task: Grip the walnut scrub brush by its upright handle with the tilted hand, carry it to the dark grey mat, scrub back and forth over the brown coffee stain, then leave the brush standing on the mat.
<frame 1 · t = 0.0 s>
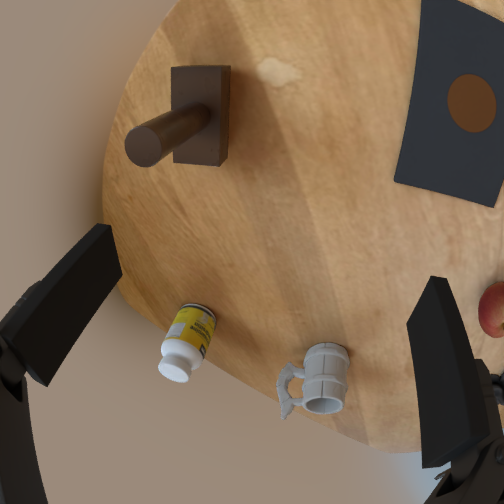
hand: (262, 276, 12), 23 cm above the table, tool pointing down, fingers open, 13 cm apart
stain mat: (470, 102, 23), on the table
mug: (315, 355, 50), on the table
apple: (493, 292, 36), on the table
scrub brush: (208, 109, 30), on the table
pill bottle: (198, 315, 50), on the table
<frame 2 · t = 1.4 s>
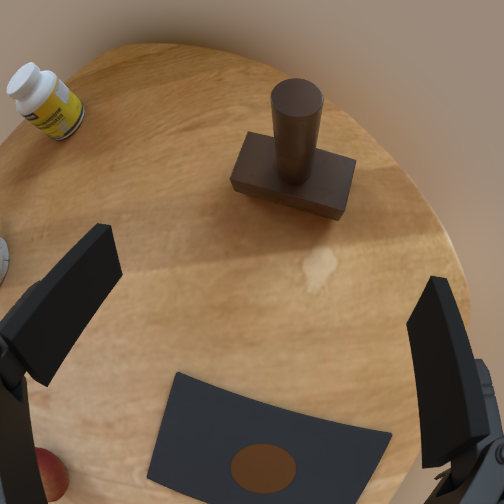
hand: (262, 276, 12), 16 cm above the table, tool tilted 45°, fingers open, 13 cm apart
stain mat: (263, 467, 25), on the table
apple: (56, 465, 27), on the table
scrub brush: (293, 185, 30), on the table
pill bottle: (69, 122, 35), on the table
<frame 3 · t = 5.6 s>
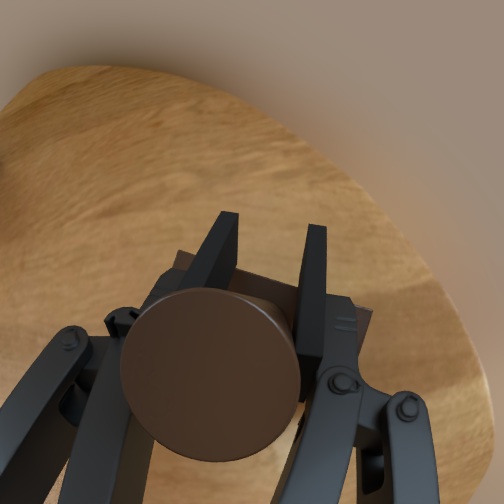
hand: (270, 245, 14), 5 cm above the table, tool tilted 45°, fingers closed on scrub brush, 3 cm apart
scrub brush: (263, 324, 18), on the table, touching gripper
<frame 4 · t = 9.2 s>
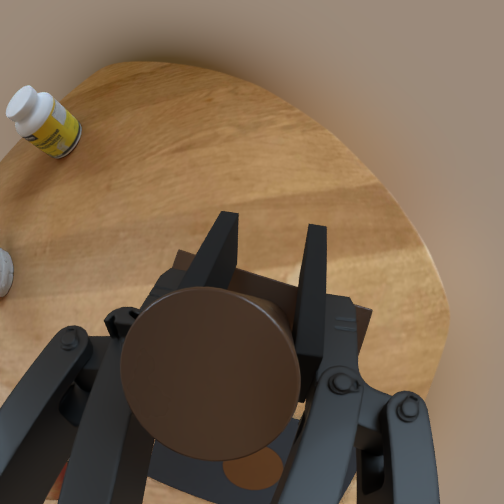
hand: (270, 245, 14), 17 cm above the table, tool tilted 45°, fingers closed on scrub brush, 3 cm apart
stain mat: (253, 465, 28), on the table
mug: (2, 260, 35), on the table
apple: (61, 465, 29), on the table
scrub brush: (263, 324, 18), point 12 cm above the table, touching gripper
pill bottle: (67, 140, 37), on the table
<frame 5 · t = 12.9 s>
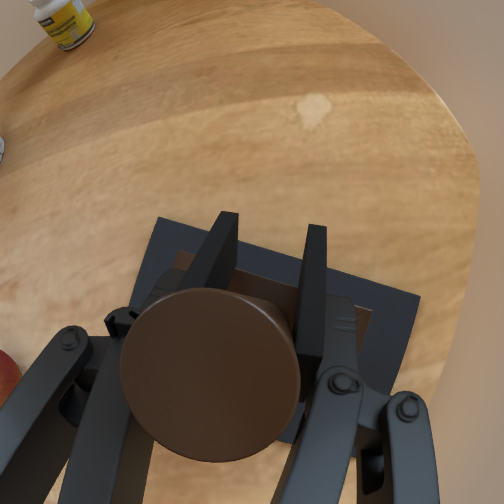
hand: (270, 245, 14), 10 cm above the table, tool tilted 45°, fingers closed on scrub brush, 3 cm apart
stain mat: (260, 344, 23), on the table
apple: (14, 378, 25), on the table
scrub brush: (263, 325, 18), point 5 cm above the table, touching gripper
pill bottle: (78, 37, 32), on the table
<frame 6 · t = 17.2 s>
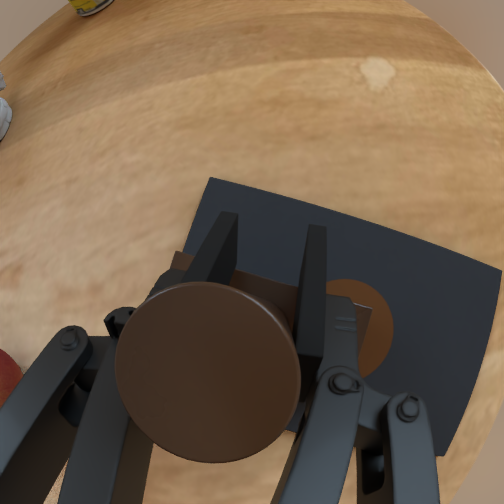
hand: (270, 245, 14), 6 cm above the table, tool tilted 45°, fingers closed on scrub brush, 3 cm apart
stain mat: (341, 331, 18), on the table
mug: (0, 118, 26), on the table
apple: (16, 383, 20), on the table
scrub brush: (262, 325, 18), point 1 cm above the table, touching gripper
pill bottle: (99, 4, 28), on the table
when the fingers open (6 cm above the table, at t = 20.6 s): scrub brush stays where it is, resting on stain mat.
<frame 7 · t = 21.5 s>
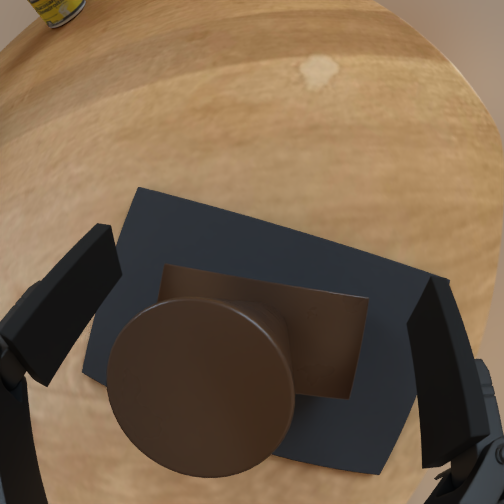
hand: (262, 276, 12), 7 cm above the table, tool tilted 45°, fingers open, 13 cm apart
stain mat: (258, 339, 18), on the table
scrub brush: (261, 327, 18), point 1 cm above the table, touching stain mat
pill bottle: (68, 15, 28), on the table
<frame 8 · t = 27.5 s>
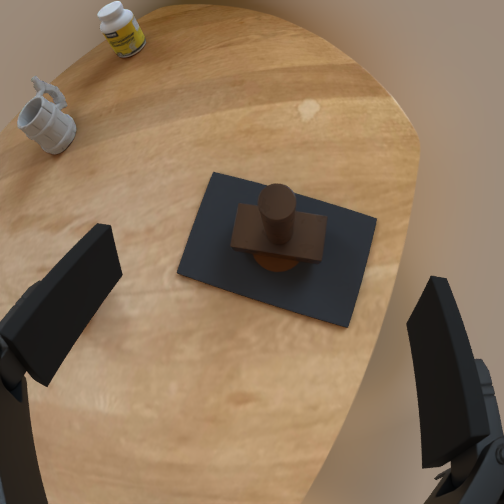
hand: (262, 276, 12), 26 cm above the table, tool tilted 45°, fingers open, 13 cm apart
stain mat: (278, 246, 38), on the table
mug: (64, 128, 46), on the table
scrub brush: (279, 238, 38), point 1 cm above the table, touching stain mat
pill bottle: (132, 48, 48), on the table
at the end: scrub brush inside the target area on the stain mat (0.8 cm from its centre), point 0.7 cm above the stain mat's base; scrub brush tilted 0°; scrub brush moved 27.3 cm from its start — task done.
